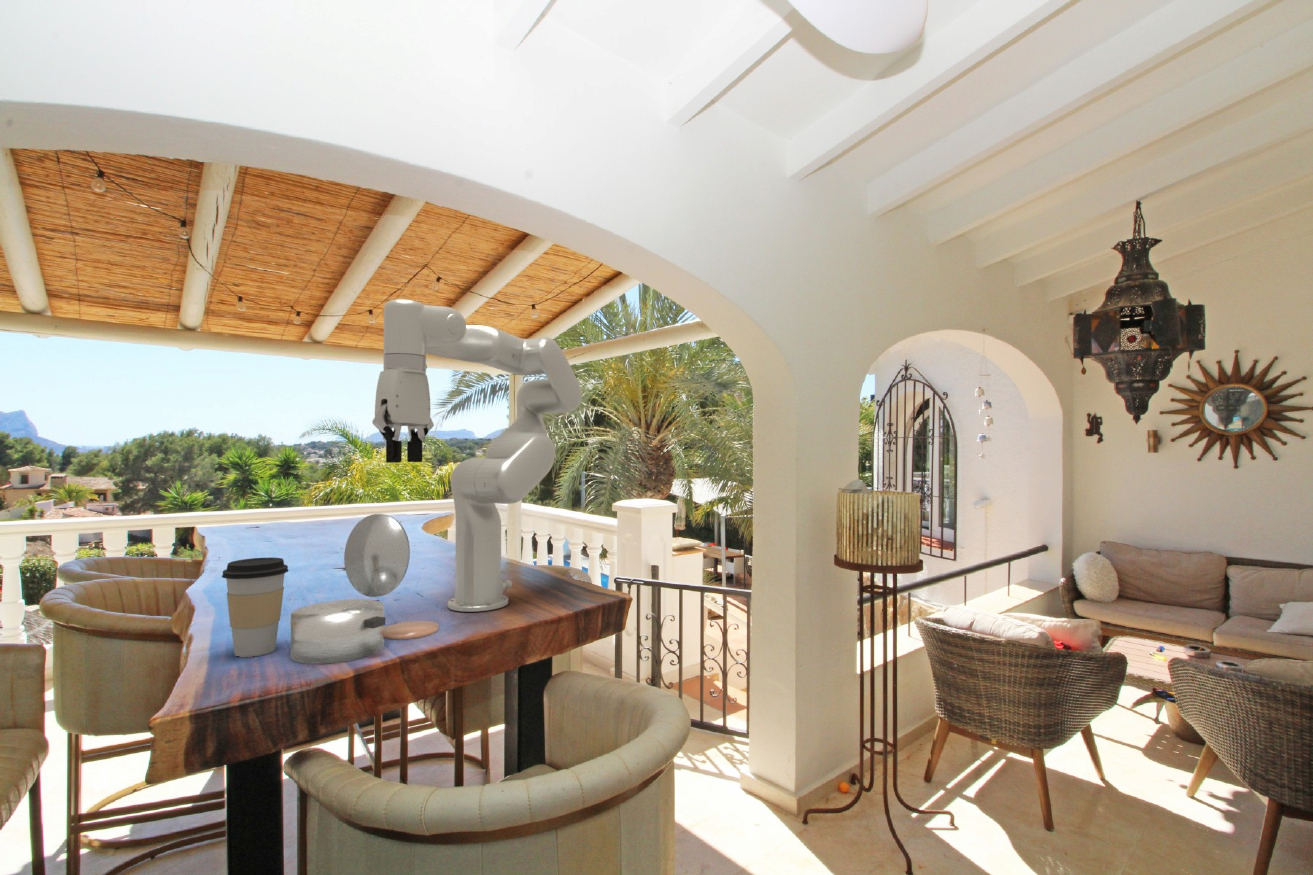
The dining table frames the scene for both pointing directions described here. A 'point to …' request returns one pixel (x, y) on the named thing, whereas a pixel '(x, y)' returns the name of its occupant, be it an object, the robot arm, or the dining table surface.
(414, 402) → the robot arm
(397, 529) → the lid
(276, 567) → the coffee cup
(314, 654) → the pot
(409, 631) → the coaster
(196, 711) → the dining table surface
